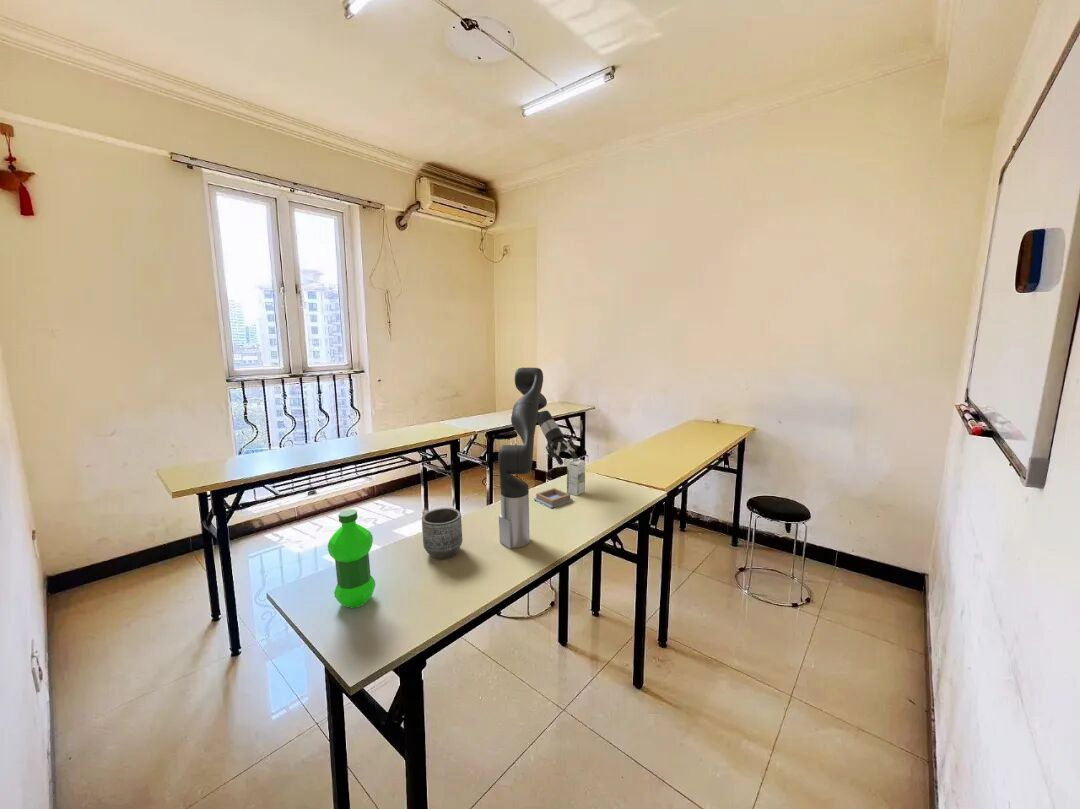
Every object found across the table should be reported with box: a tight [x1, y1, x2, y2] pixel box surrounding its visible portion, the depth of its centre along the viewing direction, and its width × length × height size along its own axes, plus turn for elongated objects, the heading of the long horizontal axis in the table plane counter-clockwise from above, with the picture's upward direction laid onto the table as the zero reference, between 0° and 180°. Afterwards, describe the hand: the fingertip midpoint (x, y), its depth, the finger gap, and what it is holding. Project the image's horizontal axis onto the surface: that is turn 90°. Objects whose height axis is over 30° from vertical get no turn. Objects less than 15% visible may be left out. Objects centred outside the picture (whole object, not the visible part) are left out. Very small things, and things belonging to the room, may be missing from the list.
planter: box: [421, 507, 463, 561], centre depth 135 cm, size 12×12×13 cm
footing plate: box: [533, 487, 574, 509], centre depth 176 cm, size 12×11×3 cm
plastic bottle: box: [327, 508, 376, 609], centre depth 110 cm, size 10×10×25 cm
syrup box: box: [566, 458, 586, 497], centre depth 183 cm, size 6×6×14 cm
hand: (569, 462), depth 185 cm, fingers open, 8 cm apart
